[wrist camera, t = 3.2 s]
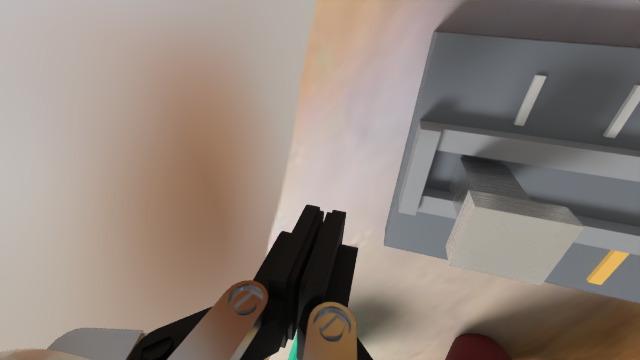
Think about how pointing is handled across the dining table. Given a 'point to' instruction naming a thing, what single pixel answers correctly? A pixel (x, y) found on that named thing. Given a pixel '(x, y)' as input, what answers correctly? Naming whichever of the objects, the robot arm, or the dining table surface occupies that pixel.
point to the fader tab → (505, 225)
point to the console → (530, 146)
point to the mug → (476, 349)
